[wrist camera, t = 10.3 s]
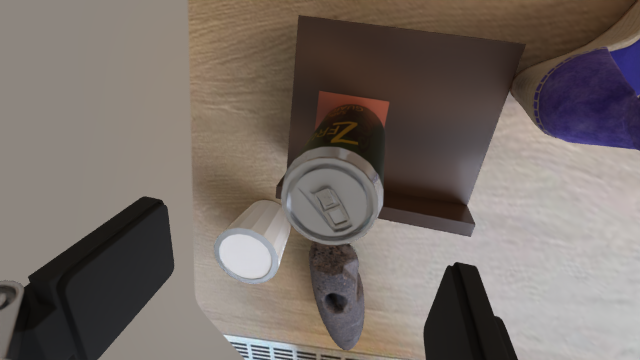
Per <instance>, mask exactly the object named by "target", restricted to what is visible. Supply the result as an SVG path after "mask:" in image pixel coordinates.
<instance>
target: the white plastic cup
mask: <svg viewBox="0 0 640 360" xmlns="http://www.w3.org/2000/svg"><path fill="white" fill-rule="evenodd" d="M290 230H291V224H290V223H289V221H288V220H287V218H286V215H285V213H284V211H283V209H282V206H281V205H280V204H278V203H276V202H274V201H269V200H260V201H256V202H254V203H253V204H252V205H251V206H249V207H248V208H247V209H246V210H245V211H244V212H243V213H242V214H241V215H240V216H239V217H238V218H237V219H236V220H235V221H234V222H233V223H232V224H230V225H229V226H228V227H227V228H226V229H225V230H224V231H223V232H222V233H221V234H220V235H219V236H218V237H217V239H216V242H215V244H214V253H215V258H216V260H217V262H218V263H219V265H220V267H221V268H222V269H223V270H224V271H225V272H226V273H227V274H228V275H229V276H231V277H233V278H235V279H237V280H239V281H241V282H246V283H251V284H257V283H263V282H266V281H268V280H269V279H271V278H272V277H274V275H275V273H276V271H277V270H278V268H279V265H280V261H281V258H282V255H283V252H284V249H285V246H286V243H287V239H288V236H289V233H290Z"/></svg>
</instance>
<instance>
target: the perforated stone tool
mask: <svg viewBox="0 0 640 360" xmlns="http://www.w3.org/2000/svg"><path fill="white" fill-rule="evenodd" d="M309 266H310V274H311V280H312V286H313V291H314V295H315V299H316V302H317V306H318V309H319V312H320V315H321V318H322V320H323V323H324V324H325V326H326V328H327V330H328V332H329V334H330V336H331V337H332V339H333V340H334V342H335V343H336V344H337V345H338V346H339V347H340V348H342V349H343V350H350V349H352V348H353V347H354V346H355V345H356V343H357V342H358V340H359V337H360V335H361V332H362V328H363V322H364V294H363V286H362V282H361V278H360V275H359V273H358V267H359V262H358V257H357V255H356V253H355V252H354V250H353V248H352V246H350V245H349V244H341V245H327V244H321V243H318V242H315V241H314V242H313V244H312V246H311V249H310V251H309Z"/></svg>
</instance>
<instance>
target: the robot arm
mask: <svg viewBox="0 0 640 360" xmlns="http://www.w3.org/2000/svg"><path fill="white" fill-rule="evenodd" d="M173 270H174V259H173V250H172V242H171V234H170V225H169V216H168V209H167V206H166V205H164V203H163V201H162V200H160V199H155V198H151V197H142V198H140V199H139V200H137V201H136V202H134V203H133V204H132V205H130V206H128V207H127V208H126V209H124V210H123V211H121V212H120V213H118V214H117V215H116V216H114V217H113V218H111V219H110V220H108V221H107V222H106V223H104V224H103V225H101V226H100V227H98V228H97V229H96V230H94V231H93V232H92V233H90V234H88V235H87V236H86V237H84V238H83V239H81V240H80V241H78V242H77V243H76V244H74V245H73V246H71V247H70V248H68V249H67V250H66V251H64V252H63V253H61V254H60V255H58V256H57V257H56V258H54V259H53V260H51V261H50V262H49V263H47V264H46V265H44V266H43V267H41V268H40V269H38V270H37V271H36V272H34V273H33V274H31V275H30V276H29V277H28V278H29V281H30V283H29V284H28V285H27V286H25V287H23V286H22V285H21V284H20V283H18V282H15V281H6V280H4V281H0V360H97V359H98V358H99V357H100V356H101V355H102V354H103V353H104V352H105V351H106V350H107V348H108V347H109V346H110V345H111V344H112V343H113V341H114V340H115V339H116V338H117V337H118V336H119V335H120V333H121V332H122V331H123V330H124V329H125V328H126V326H127V325H128V324H129V323H130V322H131V321H132V320H133V318H134V317H135V316H136V315H137V314H138V313H139V312H140V310H141V309H142V308H143V307H144V306H145V305H146V303H147V302H148V301H149V300H150V299H151V298H152V297H153V295H154V294H155V293H156V292H157V291H158V290H159V288H160V287H161V286H162V285H163V284H164V283H165V282H166V280H167V279H168V278H169V277H170V276H171V274H172V272H173ZM424 346H425V355H426V360H518V359H517V356H516V353H515V351H514V348H513V345H512V343H511V340H510V338H509V335H508V332H507V330H506V327H505V325H504V323H503V321H502V319H501V318H500V317H497V316H494V314H493V311H492V308H491V305H490V302H489V300H488V297H487V294H486V291H485V288H484V286H483V283H482V280H481V277H480V274H479V272H478V269H477V267H476V266H473V265H468V264H463V263H459V262H455V263H454V265H453V266H450V265H449V266H447V268H446V270H445V273H444V275H443V278H442V281H441V283H440V286H439V289H438V291H437V294H436V296H435V299H434V302H433V304H432V307H431V310H430V312H429V315H428V318H427V320H426V323H425V326H424Z"/></svg>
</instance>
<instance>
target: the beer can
mask: <svg viewBox="0 0 640 360" xmlns="http://www.w3.org/2000/svg"><path fill="white" fill-rule="evenodd" d="M384 153H385V131H384V128H383V124H382V122H381V121H380V119H379V118H378V116H377V115H376V114H375V113H374V112H372V111H371V110H370V109H368V108H366V107H363V106H360V105H357V104H345V105H342V106H339V107H336V108H335V109H333V110H332V111H331V112H329V113H328V114H327V115H326V117H325V118H324V119H323V121H322V122H321V123H320V125H319V126H318V128H317V129H316V130H315V132H314V133H313V135H312V136H311V137H310V139H309V140H308V141H307V143H306V144H305V146H304V147H303V148H302V150H301V151H300V153H299V154H298V155H297V157H296V158H295V159H294V161H293V162H292V164H291V165H290V167H289V168H288V170H287V171H286V173H285V177H284V181H283V185H282V187H283V189H282V193H281V200H282V209H283V211H284V213H285V215H286V218H287V220H288V221H289V223H290V224H291V225H292V226H293V227H294V228H295V229H296V231H297V232H299V233H300V234H302V235H303V236H305V237H306V238H308V239H309V240H312V241H315V242H318V243H321V244H327V245H341V244H346V243H351V242H353V241H355V240H357V239H359V238H361V237H363V236H364V235H365V234H366V233H367V232H368V231H369V230H370V229H371V227H372V226H373V224H374V222H375V220H376V219H377V217H378V215H379V213H380V210H381V208H382V206H383V190H384Z"/></svg>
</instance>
